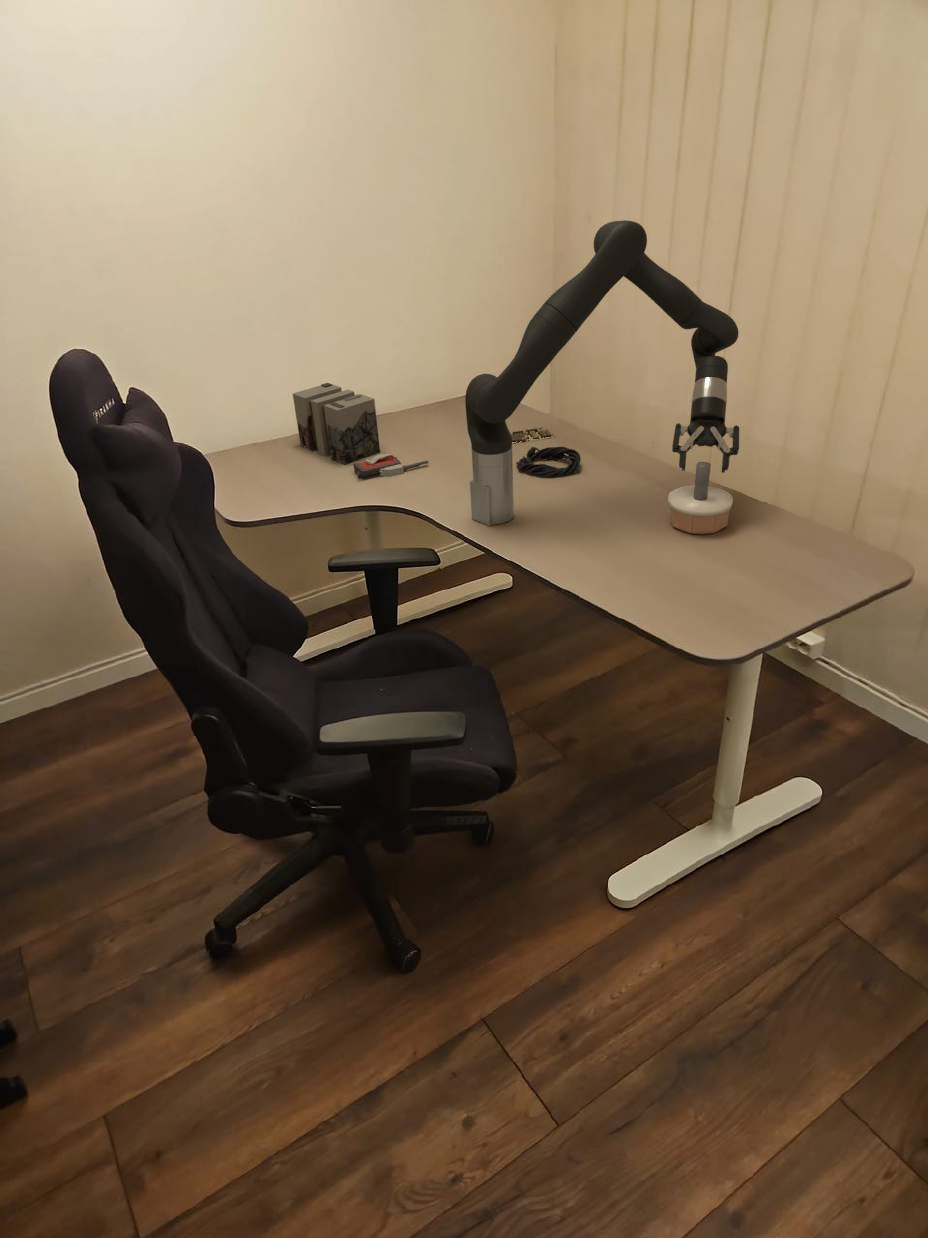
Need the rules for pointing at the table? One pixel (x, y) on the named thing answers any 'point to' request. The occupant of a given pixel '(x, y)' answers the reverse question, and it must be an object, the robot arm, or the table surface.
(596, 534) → the table surface
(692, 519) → the bowl
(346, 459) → the bookend
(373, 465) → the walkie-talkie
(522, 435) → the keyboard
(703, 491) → the lid
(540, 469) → the cable
